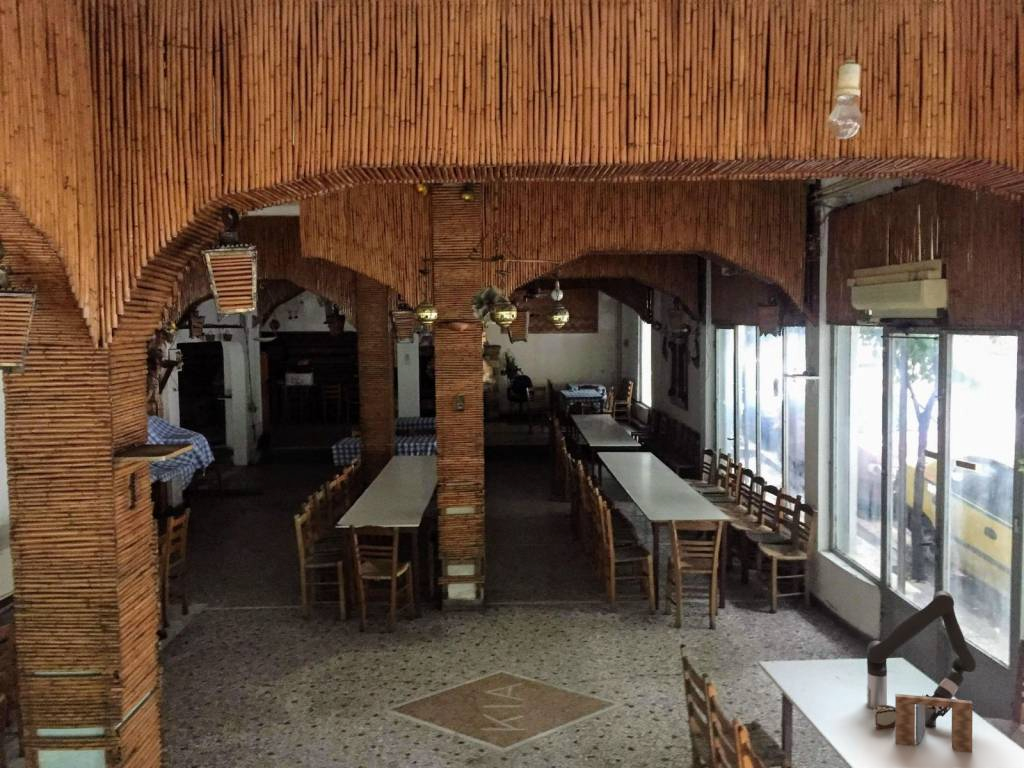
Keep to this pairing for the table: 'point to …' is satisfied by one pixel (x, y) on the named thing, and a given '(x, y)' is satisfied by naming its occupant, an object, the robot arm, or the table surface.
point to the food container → (884, 717)
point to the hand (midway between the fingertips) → (926, 717)
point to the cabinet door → (920, 722)
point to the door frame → (960, 708)
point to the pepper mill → (929, 716)
